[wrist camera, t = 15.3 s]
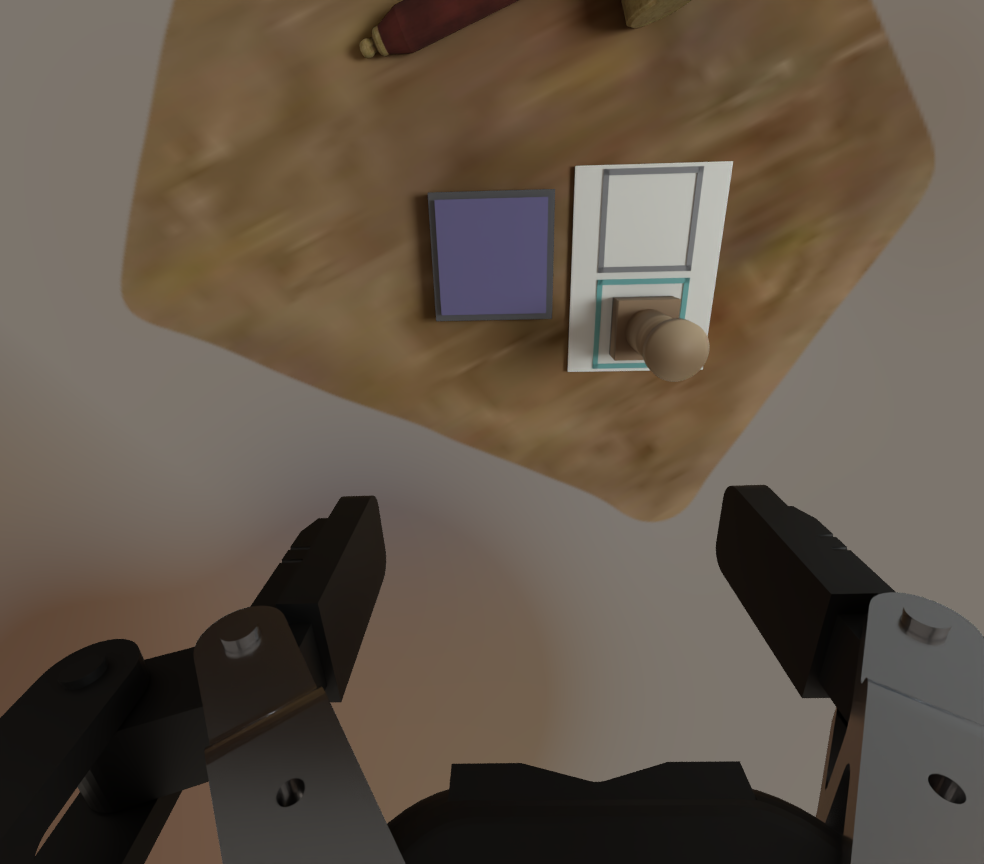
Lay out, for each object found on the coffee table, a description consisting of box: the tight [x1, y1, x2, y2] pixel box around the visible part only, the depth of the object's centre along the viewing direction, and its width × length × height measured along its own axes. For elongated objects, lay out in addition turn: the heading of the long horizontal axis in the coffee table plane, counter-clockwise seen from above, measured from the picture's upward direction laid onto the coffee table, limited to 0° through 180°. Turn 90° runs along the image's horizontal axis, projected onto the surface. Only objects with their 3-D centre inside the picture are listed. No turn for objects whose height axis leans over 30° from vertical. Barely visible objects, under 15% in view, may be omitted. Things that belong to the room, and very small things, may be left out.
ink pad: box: [428, 189, 555, 321], centre depth 36 cm, size 9×9×2 cm
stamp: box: [609, 296, 709, 382], centre depth 34 cm, size 4×4×9 cm
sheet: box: [567, 161, 733, 372], centre depth 37 cm, size 15×11×1 cm
